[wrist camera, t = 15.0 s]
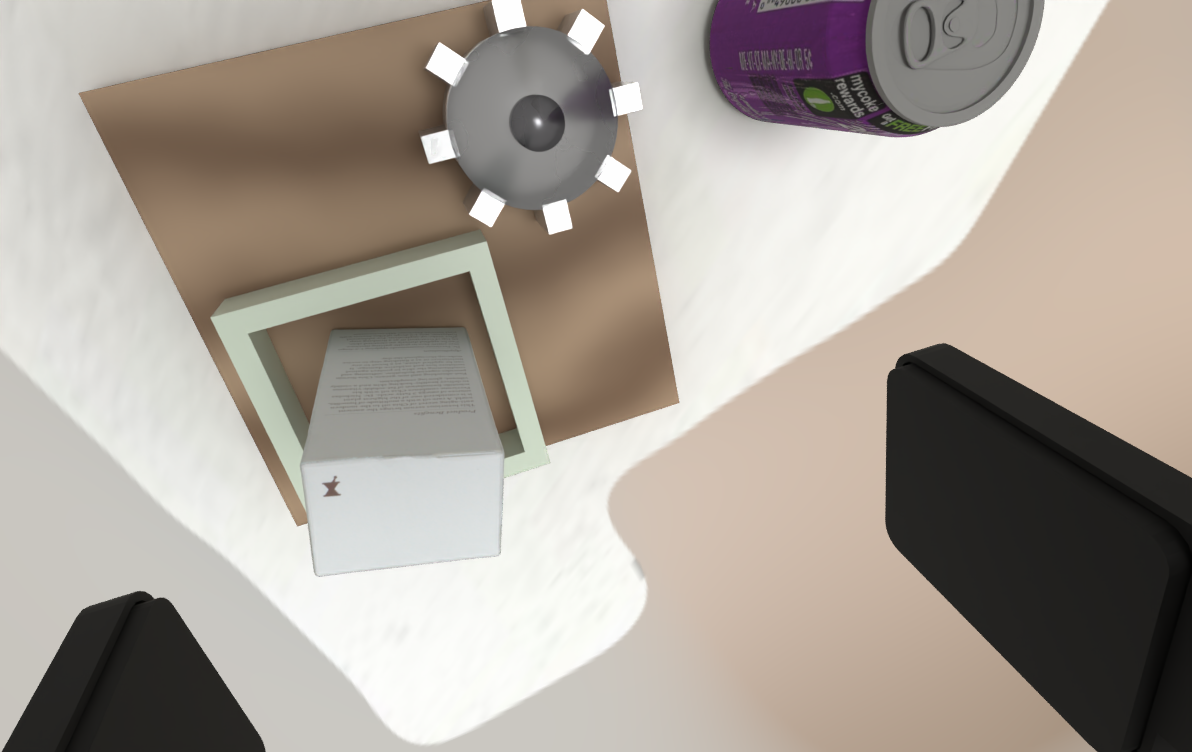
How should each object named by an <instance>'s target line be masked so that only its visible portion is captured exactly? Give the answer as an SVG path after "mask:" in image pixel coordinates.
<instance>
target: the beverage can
mask: <svg viewBox="0 0 1192 752" xmlns="http://www.w3.org/2000/svg"><path fill="white" fill-rule="evenodd" d="M1043 10H1044V0H719V1H718V4H717V6H716V9H715V12H714V16H713V19H712V24H711V31H710V57H711V64H712V68H713V72H714V75H715V78H716V80H717V83H718V85H719V87H720V89H721V91H722V92H723V94H724V95H725V97H726V98H727V99H728V100H729V102H730V103H731V104H732V105H733V106H734V107H735V108H736V109H738V110H739V111H740V112H742V113H743V114H745V115H747V116H749V117H751V118H753V119H756V120H760V121H764V122H772V123H780V124H788V125H796V126H805V127H813V128H821V129H829V130H838V131H846V132H854V133H862V134H871V135H879V136H887V137H910V136H916V135H921V134H924V133H927V132H930V131H933V130H935V129H937V128H939V127H946V126H953V125H957V124H961V123H964V122H966V121H969V120H971V119H973V118H975V117H977V116H978V115H980V114H982V113H983V112H985V111H986V110H988V109H989V108H990V107H991V106H993V105H994V104H995V103H996V102H997V101H998V100H999V99H1000V98H1001V97H1002V96H1003V95H1004V94H1005V93H1006V92H1007V91H1008V90H1009V89H1010V87H1011V86H1012V85H1013V84H1014V82H1015V81H1016V79H1017V78H1018V77H1019V75H1020V73H1021V72H1022V70H1023V69H1024V67H1025V65H1026V63H1027V61H1028V59H1029V57H1030V55H1031V53H1032V50H1033V48H1034V45H1035V43H1036V40H1037V37H1038V33H1039V30H1040V26H1041V22H1042V16H1043Z"/></svg>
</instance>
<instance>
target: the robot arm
mask: <svg viewBox="0 0 1192 752" xmlns="http://www.w3.org/2000/svg"><path fill="white" fill-rule="evenodd" d="M886 434H887V435H886V512H885V513H886V515H885V516H886V517H885V520H886V521H885V522H886V529H887V532H888V535H889V537H890V539H891V541H892V543H893V544H894V546H895V547H896V548H897V549H898V550H899V551H900V552H901V554H902V555H903V556H904V557H906V559H907V560H908V561H909V562H910V563H911V564H912V565H913V566H914V567H915V568H916V569H917V570H918V571H919V572H920V573H921V574H922V575H923V576H924V577H925V578H926V579H927V580H928V581H929V582H930V583H931V584H932V585H933V586H934V587H935V588H936V589H937V590H938V591H939V592H940V593H941V594H942V595H943V596H944V597H945V598H946V599H947V600H948V601H949V602H950V603H951V604H952V605H953V606H954V607H955V608H956V609H957V610H958V611H959V612H960V614H962V615H963V617H964V618H965V619H966V620H967V621H968V622H969V623H970V624H971V625H972V626H973V627H975V629H976V630H977V631H978V632H979V633H980V634H981V635H982V636H983V637H984V638H985V639H986V640H987V641H988V642H989V643H990V644H991V645H992V646H993V647H994V648H995V649H996V650H997V651H998V652H999V653H1000V654H1001V655H1002V656H1003V657H1004V658H1005V659H1006V660H1007V661H1008V662H1009V663H1010V664H1011V665H1012V666H1013V667H1014V668H1015V669H1016V670H1017V671H1018V672H1019V673H1020V674H1021V675H1022V677H1023V678H1025V679H1026V681H1027V682H1028V683H1029V684H1030V685H1031V686H1032V687H1033V688H1034V689H1035V690H1036V691H1038V693H1039V694H1040V695H1041V696H1042V697H1043V698H1044V699H1045V700H1046V701H1047V702H1048V703H1049V704H1050V705H1051V706H1052V707H1053V708H1054V709H1055V710H1056V711H1057V712H1058V713H1059V714H1060V715H1061V716H1062V717H1063V718H1064V719H1065V720H1066V721H1067V722H1068V723H1069V724H1070V725H1071V726H1072V727H1073V728H1074V729H1075V730H1076V731H1077V732H1078V733H1079V734H1080V735H1081V736H1082V737H1083V739H1084V740H1085V741H1086V742H1087V743H1088V744H1089V745H1091V746H1092V747H1093V748H1094V749H1095V750H1096V751H1097V752H1192V478H1191V477H1189V476H1187V475H1186V474H1184V473H1182V472H1180V471H1178V470H1176V469H1175V468H1173V467H1171V466H1169V465H1167V464H1165V463H1164V462H1162V461H1160V460H1158V459H1156V458H1155V457H1153V456H1151V455H1149V454H1147V453H1145V452H1144V451H1142V450H1140V449H1138V448H1136V447H1135V446H1133V445H1131V444H1129V443H1127V442H1125V441H1124V440H1122V439H1120V438H1118V437H1116V436H1115V435H1113V434H1111V433H1109V432H1107V431H1106V430H1104V429H1102V428H1100V427H1098V426H1096V425H1095V424H1093V423H1091V422H1089V421H1087V420H1086V419H1084V418H1082V417H1080V416H1078V415H1076V414H1075V413H1072V412H1071V411H1069V410H1067V409H1066V408H1064V407H1062V406H1060V405H1058V404H1056V403H1055V402H1053V401H1051V400H1049V399H1047V398H1046V397H1044V396H1042V395H1040V394H1038V393H1037V392H1035V391H1033V390H1031V389H1029V388H1027V387H1026V386H1024V385H1022V384H1020V383H1018V382H1017V381H1015V380H1013V379H1011V378H1009V377H1007V376H1006V375H1004V374H1002V373H1000V372H998V371H996V370H995V369H993V368H991V367H989V366H987V365H986V364H984V363H982V362H980V361H978V360H976V359H975V358H973V357H971V356H969V355H967V354H966V353H964V352H962V351H960V350H958V349H957V348H955V347H953V346H951V345H948V344H944V343H943V344H937V345H934V346H930V347H927V348H924V349H921V350H917V351H914V352H911V353H908V354H904V355H903V356H901V357H900V358H899V359H898V361H897V363H896V367H895V369H893V370H891V371H890V373H889V375H888V379H887V431H886ZM2 752H265V747H264V744H263V741H262V740H261V737H260V736H259V734H258V733H257V731H256V730H255V728H254V726H253V725H252V723H251V722H250V720H249V719H248V717H247V716H246V714H245V713H244V712H243V710H242V708H241V707H240V705H239V704H238V702H237V701H236V699H235V698H234V696H233V695H232V694H231V692H230V690H229V689H228V687H227V686H226V684H225V683H224V681H223V680H222V678H221V677H220V675H219V674H218V672H217V671H216V669H215V668H214V666H213V665H212V663H211V662H210V660H209V659H208V657H207V656H206V654H205V653H204V651H203V650H202V648H201V647H200V645H199V644H198V642H197V641H196V639H195V638H194V636H193V635H192V633H191V632H190V630H189V629H188V627H187V626H186V624H185V623H184V621H183V619H182V618H181V616H180V615H179V613H178V612H177V610H176V609H175V608H174V606H173V605H172V603H171V602H170V601H169V600H167V599H165V598H157V599H154V598H153V597H152V596H151V595H150V594H148V593H146V592H143V591H137V592H134V593H131V594H127V595H124V596H121V597H118V598H114V599H112V600H108V601H105V602H101V603H98V604H95V605H92V606H89V607H87V608H85V609H83V610H82V611H81V613H79V615H78V616H77V617H76V619H75V621H74V623H73V625H72V626H71V628H70V630H69V632H68V633H67V635H66V637H65V639H64V641H63V643H62V644H61V646H60V648H59V650H58V652H57V653H56V655H55V657H54V659H53V661H52V662H51V664H50V666H49V668H48V670H47V671H46V673H45V675H44V677H43V679H42V681H41V682H40V684H39V686H38V688H37V689H36V691H35V693H34V695H33V697H32V698H31V700H30V702H29V704H28V706H27V707H26V709H25V711H24V713H23V715H22V716H21V718H20V720H19V722H18V724H17V726H16V727H15V729H14V731H13V733H12V735H11V736H10V738H9V740H8V742H7V743H6V745H5V747H4V749H3V751H2Z"/></svg>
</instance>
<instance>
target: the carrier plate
mask: <svg viewBox="0 0 1192 752" xmlns="http://www.w3.org/2000/svg"><path fill="white" fill-rule="evenodd" d="M490 1H492V0H489V1H484V2H480V3H475V4H471V5H466V6H462V7H458V8H453V9H449V10H444V11H440V12H435V13H431V14H427V15H422V16H418V17H413V18H409V19H404V20H400V21H396V22H391V23H387V24H382V25H378V26H373V27H369V28H365V29H360V30H356V31H351V32H347V33H342V34H338V35H334V36H329V37H325V38H320V39H316V40H311V41H307V42H303V43H298V44H294V45H289V46H285V47H280V48H276V49H272V50H267V51H263V52H258V53H254V54H249V55H245V56H241V57H236V58H232V59H227V60H223V61H219V62H214V63H210V64H205V65H201V66H196V67H192V68H188V69H183V70H179V71H174V72H170V73H165V74H161V75H157V76H152V77H148V78H143V79H139V80H134V81H130V82H126V83H121V84H117V85H112V86H108V87H103V88H99V89H95V90H90V91H86V92H81V93H79V95H80V97H81V99H82V101H83V103H84V105H85V107H86V109H87V111H88V113H89V115H90V117H91V119H92V121H93V123H94V125H95V127H96V129H97V131H98V133H99V135H100V137H101V139H102V141H103V143H104V145H105V147H106V149H107V151H108V153H109V155H110V156H111V158H112V160H113V162H114V164H115V166H116V168H117V170H118V172H119V174H120V176H121V178H122V180H123V182H124V184H125V186H126V188H127V190H128V192H129V194H130V196H131V198H132V200H133V202H134V204H135V206H136V208H137V210H138V212H139V214H140V216H141V218H142V220H143V222H144V224H145V226H146V228H147V230H148V232H149V234H150V236H151V238H152V240H153V242H154V244H155V246H156V248H157V250H158V251H159V253H160V255H161V257H162V259H163V261H164V263H165V265H166V267H167V269H168V271H169V273H170V275H171V277H172V279H173V281H174V283H175V285H176V287H177V289H178V291H179V293H180V295H181V297H182V299H183V301H184V303H185V305H186V307H187V309H188V311H189V313H190V315H191V317H192V319H193V321H194V323H195V325H196V327H197V329H198V331H199V333H200V335H201V337H202V339H203V341H204V343H205V345H206V347H207V348H208V350H209V352H210V354H211V356H212V358H213V360H214V362H215V364H216V366H217V368H218V370H219V372H220V374H221V376H222V378H223V380H224V382H225V384H226V386H227V388H228V390H229V392H230V394H231V396H232V398H233V400H234V402H235V404H236V406H237V408H238V410H239V412H240V414H241V416H242V418H243V420H244V422H245V424H246V426H247V428H248V430H249V432H250V434H251V436H252V438H253V440H254V442H255V444H256V445H257V447H258V449H259V451H260V453H261V455H262V457H263V459H264V461H265V463H266V465H267V467H268V469H269V471H270V473H271V475H272V477H273V479H274V481H275V483H276V485H277V487H278V489H279V491H280V493H281V495H282V497H283V499H284V501H285V503H286V505H287V507H288V509H289V511H290V513H291V515H292V517H293V519H294V521H295V523H296V525H297V526H300V525H303V524H306V523H308V521H307V514H306V511H305V509H304V507H303V505H302V503H301V501H300V499H299V497H298V495H297V493H296V491H295V489H294V487H293V484H292V482H291V480H290V478H289V476H288V474H287V472H286V470H285V468H284V466H283V464H282V462H281V460H280V458H279V456H278V454H277V452H276V450H275V448H274V446H273V444H272V442H271V440H270V438H269V436H268V434H267V432H266V430H265V428H264V426H263V424H262V422H261V420H260V417H259V415H258V413H257V411H256V409H255V407H254V405H253V403H252V401H251V399H250V397H249V395H248V393H247V391H246V389H245V387H244V385H243V383H242V381H241V379H240V377H239V375H238V373H237V371H236V369H235V367H234V365H233V363H232V361H231V359H230V357H229V355H228V353H227V350H226V348H225V346H224V344H223V342H222V340H221V338H220V336H219V334H218V332H217V330H216V328H215V326H214V324H213V322H212V320H211V318H210V317H211V316H212V315H213V314H214V312H215V311H216V310H217V308H218V307H219V306H220V305H221V303H222V302H223V301H224V299H227V298H231V297H235V296H238V295H242V294H246V293H249V292H253V291H256V290H260V289H264V288H267V287H271V286H275V285H278V284H282V283H286V282H289V281H293V280H297V279H300V278H304V277H308V276H311V275H315V274H319V273H322V272H326V271H330V270H333V269H337V268H341V267H344V266H348V265H352V264H355V263H359V262H362V261H366V260H370V259H373V258H377V257H381V256H384V255H388V254H392V253H395V252H399V251H403V250H406V249H410V248H414V247H417V246H421V245H425V244H428V243H432V242H436V241H439V240H443V239H447V238H450V237H454V236H458V235H461V234H465V233H468V232H472V231H476V230H479V229H480V230H481V232H482V234H483V235H484V237H485V239H486V241H487V244H488V248H489V251H490V255H491V258H492V262H493V265H494V269H495V272H496V276H497V279H498V283H499V286H500V289H501V293H502V296H503V300H504V303H505V307H506V310H507V314H508V317H509V321H510V324H511V328H512V331H513V335H514V338H515V342H516V345H517V349H518V352H519V355H520V359H521V362H522V366H523V369H524V373H525V376H526V380H527V383H528V387H529V390H530V394H531V397H532V401H533V404H534V408H535V411H536V415H537V418H538V421H539V425H540V428H541V432H542V435H543V439H544V442H545V446H547V445H551V444H554V443H557V442H560V441H563V440H566V439H569V438H572V437H575V436H578V435H581V434H585V433H588V432H591V431H594V430H597V429H600V428H603V427H606V426H609V425H612V424H615V423H619V422H622V421H625V420H628V419H631V418H634V417H637V416H640V415H643V414H646V413H649V412H653V411H656V410H659V409H662V408H665V407H668V406H671V405H674V404H677V403H679V398H678V393H677V387H676V382H675V376H674V371H673V365H672V359H671V354H670V348H669V343H668V337H667V332H666V326H665V321H664V315H663V310H662V304H661V299H660V293H659V288H658V282H657V277H656V271H655V266H654V260H653V255H652V249H651V244H650V238H649V233H648V227H647V221H646V216H645V210H644V205H643V199H642V194H641V188H640V183H639V177H638V172H637V166H636V161H635V155H634V150H633V144H632V139H631V133H630V128H629V122H628V117H627V113H626V114H622V115H618V129H617V137H616V142H615V146H614V149H613V152H612V155H611V157H612V158H613V159H615V160H616V161H618V162H619V163H621V164H622V165H624V166H625V167H627V168H628V169H630V170H631V172H630V174H629V176H628V177H627V179H626V181H625V182H624V184H623V186H622V187H621V189H620V191H619V192H617V191H615V190H613V189H611V188H609V187H607V186H605V185H603V184H602V183H600V182H598V181H597V180H596V182H595V183H594V184H593V185H592V186H591V187H590V188H589V189H588V190H587V191H585V192H584V193H583V194H582V195H580V196H579V197H577V198H576V199H574V200H572V201H570V202H568V203H567V206H568V210H569V215H570V219H571V223H572V228H571V229H567V230H564V231H560V232H557V233H553V234H548V233H547V232H546V231H545V229H544V228H543V227H542V226H541V225H540V224H539V223H538V222H537V221H536V218H535V214H534V210H526V209H519V208H514V207H511V206H508V205H505V204H504V206H503V208H502V209H501V211H500V213H499V215H498V216H497V218H496V220H495V222H494V224H493V225H492V227H490V226H488V225H487V224H485V223H483V222H481V221H480V220H478V219H476V218H474V217H473V216H471V215H469V213H468V211H467V209H466V207H465V206H464V204H463V201H464V199H465V197H466V195H467V194H468V192H469V190H470V188H471V186H472V184H473V182H472V181H471V180H470V179H469V177H468V176H467V175H466V173H465V172H464V171H463V169H462V168H461V166H460V165H459V163H458V162H457V160H456V159H455V158H451V159H447V160H443V161H439V162H435V163H431V164H429V162H428V160H427V157H426V154H425V150H424V147H423V144H422V141H421V138H420V134H419V131H421V130H425V129H429V128H433V127H437V126H441V125H443V116H442V114H443V99H444V93H445V89H446V86H447V84H446V83H445V82H443V81H441V80H440V79H438V78H437V77H435V76H434V75H432V74H431V73H429V72H427V71H426V70H424V67H425V65H426V63H427V61H428V59H429V57H430V55H431V53H432V51H433V49H434V47H435V45H436V44H438V43H439V42H440V43H441V44H443V45H444V46H446V47H447V48H449V49H450V50H452V51H453V52H455V53H456V54H458V55H459V56H461V57H463V56H464V54H465V53H467V52H468V51H469V50H470V49H471V48H472V47H473V46H475V45H476V44H478V43H479V42H481V41H482V40H484V39H486V38H488V37H490V35H489V31H488V27H487V23H486V19H485V15H484V11H483V7H484V6H485V5H487V4H488V3H489V2H490ZM520 1H521V6H522V10H523V14H524V19H525V23H526V26H538V27H545V28H550V29H553V30H557V29H558V27H559V26H560V24H561V22H562V20H563V18H564V16H565V15H567V14H570V13H573V12H575V11H578V10H581V9H583V10H585V11H586V12H587V13H589V14H590V15H591V16H593V17H594V18H595V19H596V20H598V21H599V22H600V23H602V24H603V25H604V28H603V30H602V31H601V33H600V35H599V37H598V39H597V40H596V42H595V44H594V46H593V47H592V49H591V51H590V52H591V53H592V54H593V55H594V56H595V57H596V59H597V60H598V61H599V63H600V64H601V66H602V67H603V68H604V70H605V72H606V74H607V76H608V78H609V80H610V82H611V83H613V82H621V78H620V72H619V67H618V61H617V56H616V50H615V45H614V39H613V34H612V28H611V23H610V17H609V12H608V6H607V1H606V0H520ZM453 327H464V328H466V330H467V332H468V335H469V338H470V342H471V345H472V349H473V352H474V356H475V359H476V362H477V366H478V369H479V372H480V376H481V379H482V383H483V386H484V389H485V393H486V396H487V399H488V403H489V406H490V409H491V412H492V416H493V419H494V422H495V426H496V429H497V431H498V434H500V433H503V432H506V431H509V430H513V429H516V428H517V427H516V424H515V420H514V417H513V414H512V410H511V407H510V404H509V401H508V397H507V394H506V391H505V388H504V384H503V381H502V378H501V374H500V371H499V368H498V365H497V361H496V358H495V355H494V351H493V348H492V345H491V342H490V338H489V335H488V332H487V329H486V325H485V322H484V319H483V315H482V312H481V309H480V306H479V302H478V299H477V296H476V292H475V289H474V286H473V283H472V279H471V276H470V273H469V271H468V272H465V273H461V274H458V275H454V276H451V277H447V278H444V279H440V280H436V281H433V282H429V283H426V284H422V285H419V286H415V287H412V288H408V289H405V290H401V291H397V292H394V293H390V294H387V295H383V296H380V297H376V298H373V299H369V300H365V301H362V302H358V303H355V304H351V305H348V306H344V307H341V308H337V309H334V310H330V311H326V312H323V313H319V314H316V315H312V316H309V317H305V318H302V319H298V320H295V321H291V322H287V323H284V324H280V325H277V326H273V327H270V328H266V331H267V333H268V335H269V337H270V339H271V342H272V344H273V346H274V348H275V350H276V352H277V355H278V357H279V359H280V361H281V363H282V366H283V368H284V370H285V372H286V374H287V376H288V379H289V381H290V383H291V385H292V387H293V390H294V392H295V394H296V396H297V398H298V400H299V403H300V405H301V407H302V409H303V411H304V414H305V416H306V418H307V420H308V422H309V425H310V420H311V416H312V411H313V407H314V402H315V398H316V393H317V388H318V384H319V380H320V375H321V371H322V368H323V363H324V358H325V354H326V350H327V345H328V340H329V336H330V333H331V331H332V330H345V329H398V328H453Z"/></svg>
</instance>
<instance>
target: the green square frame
mask: <svg viewBox="0 0 1192 752" xmlns="http://www.w3.org/2000/svg"><path fill="white" fill-rule="evenodd" d="M468 271H469V273H470V276H471V279H472V283H473V286H474V289H475V292H476V296H477V299H478V302H479V306H480V309H481V312H482V315H483V319H484V322H485V325H486V329H487V332H488V335H489V338H490V342H491V345H492V348H493V351H494V355H495V358H496V361H497V365H498V368H499V371H500V374H501V378H502V381H503V384H504V388H505V391H506V394H507V397H508V401H509V404H510V407H511V410H512V414H513V417H514V420H515V424H516V427H517V428H516V429H513V430H509V431H506V432H503V433H500V434H498V435H499V438H500V440H501V443H502V446H503V449H504V478H506V477H509V476H512V475H515V474H518V473H521V472H524V471H527V470H530V469H534V468H537V467H540V466H543V465H546V464H549V463H550V460H549V456H548V453H547V449H546V446H545V442H544V439H543V435H542V432H541V428H540V425H539V421H538V418H537V415H536V411H535V408H534V404H533V401H532V397H531V394H530V390H529V387H528V383H527V380H526V376H525V373H524V369H523V366H522V362H521V359H520V355H519V352H518V349H517V345H516V342H515V338H514V335H513V331H512V328H511V324H510V321H509V317H508V314H507V310H506V307H505V303H504V300H503V296H502V293H501V289H500V286H499V283H498V279H497V276H496V272H495V269H494V265H493V262H492V258H491V255H490V251H489V248H488V244H487V241H486V239H485V237H484V235H483V234H482V232H481V230H480V229H479V230H476V231H472V232H468V233H465V234H461V235H458V236H454V237H450V238H447V239H443V240H439V241H436V242H432V243H428V244H425V245H421V246H417V247H414V248H410V249H406V250H403V251H399V252H395V253H392V254H388V255H384V256H381V257H377V258H373V259H370V260H366V261H362V262H359V263H355V264H352V265H348V266H344V267H341V268H337V269H333V270H330V271H326V272H322V273H319V274H315V275H311V276H308V277H304V278H300V279H297V280H293V281H289V282H286V283H282V284H278V285H275V286H271V287H267V288H264V289H260V290H256V291H253V292H249V293H246V294H242V295H238V296H235V297H231V298H227V299H224V301H223V302H222V303H221V305H220V306H219V307H218V308H217V310H216V311H215V312H214V314H213V315H212V316H211V317H210V318H211V320H212V322H213V324H214V326H215V328H216V330H217V332H218V334H219V336H220V338H221V340H222V342H223V344H224V346H225V348H226V350H227V353H228V355H229V357H230V359H231V361H232V363H233V365H234V367H235V369H236V371H237V373H238V375H239V377H240V379H241V381H242V383H243V385H244V387H245V389H246V391H247V393H248V395H249V397H250V399H251V401H252V403H253V405H254V407H255V409H256V411H257V413H258V415H259V417H260V420H261V422H262V424H263V426H264V428H265V430H266V432H267V434H268V436H269V438H270V440H271V442H272V444H273V446H274V448H275V450H276V452H277V454H278V456H279V458H280V460H281V462H282V464H283V466H284V468H285V470H286V472H287V474H288V476H289V478H290V480H291V482H292V484H293V487H294V489H295V491H296V493H297V495H298V497H299V499H300V501H301V503H302V505H303V507H304V509H305V511H306V506H305V498H304V491H303V484H302V477H301V471H300V462H301V459H302V455H303V451H304V447H305V443H306V440H307V436H308V430H309V422H308V420H307V418H306V416H305V414H304V411H303V409H302V407H301V405H300V403H299V400H298V398H297V396H296V394H295V392H294V390H293V387H292V385H291V383H290V381H289V379H288V376H287V374H286V372H285V370H284V368H283V366H282V363H281V361H280V359H279V357H278V355H277V352H276V350H275V348H274V346H273V344H272V342H271V339H270V337H269V335H268V333H267V331H266V328H270V327H273V326H277V325H280V324H284V323H287V322H291V321H295V320H298V319H302V318H305V317H309V316H312V315H316V314H319V313H323V312H326V311H330V310H334V309H337V308H341V307H344V306H348V305H351V304H355V303H358V302H362V301H365V300H369V299H373V298H376V297H380V296H383V295H387V294H390V293H394V292H397V291H401V290H405V289H408V288H412V287H415V286H419V285H422V284H426V283H429V282H433V281H436V280H440V279H444V278H447V277H451V276H454V275H458V274H461V273H465V272H468Z"/></svg>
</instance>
